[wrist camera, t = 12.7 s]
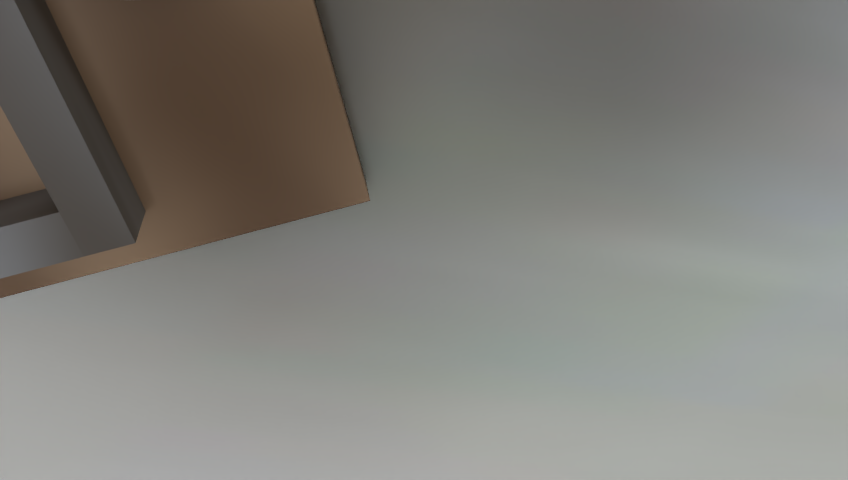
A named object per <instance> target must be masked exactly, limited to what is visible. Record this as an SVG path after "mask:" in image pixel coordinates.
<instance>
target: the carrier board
mask: <svg viewBox="0 0 848 480" xmlns="http://www.w3.org/2000/svg"><path fill="white" fill-rule="evenodd" d="M367 201H370V198H369V193H368V189H367V184H366V180H365V177H364V173H363V170H362V166H361V163H360V159H359V155H358V152H357V148H356V145H355V141H354V138H353V134H352V131H351V127H350V124H349V120H348V117H347V113H346V110H345V106H344V103H343V99H342V95H341V92H340V88H339V85H338V81H337V78H336V74H335V71H334V67H333V64H332V60H331V57H330V53H329V50H328V46H327V43H326V39H325V36H324V32H323V28H322V25H321V21H320V18H319V14H318V11H317V7H316V4H315V0H0V298H2V297H6V296H10V295H13V294H17V293H21V292H25V291H29V290H32V289H36V288H40V287H44V286H48V285H51V284H55V283H59V282H63V281H67V280H70V279H74V278H78V277H82V276H86V275H89V274H93V273H97V272H101V271H105V270H108V269H112V268H116V267H120V266H124V265H128V264H131V263H135V262H139V261H143V260H147V259H150V258H154V257H158V256H162V255H166V254H169V253H173V252H177V251H181V250H185V249H188V248H192V247H196V246H200V245H204V244H207V243H211V242H215V241H219V240H223V239H226V238H230V237H234V236H238V235H242V234H245V233H249V232H253V231H257V230H261V229H264V228H268V227H272V226H276V225H280V224H283V223H287V222H291V221H295V220H299V219H302V218H306V217H310V216H314V215H318V214H321V213H325V212H329V211H333V210H337V209H340V208H344V207H348V206H352V205H356V204H359V203H363V202H367Z"/></svg>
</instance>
